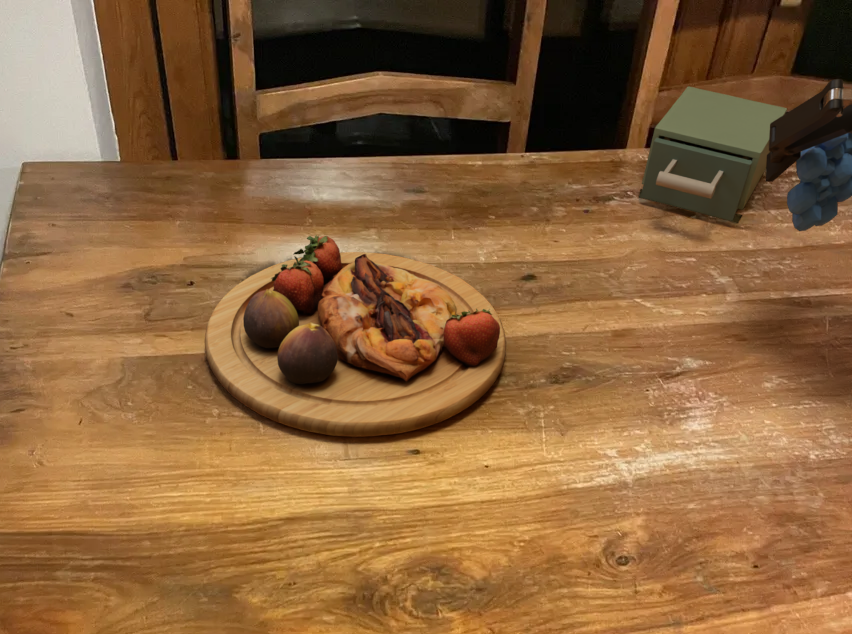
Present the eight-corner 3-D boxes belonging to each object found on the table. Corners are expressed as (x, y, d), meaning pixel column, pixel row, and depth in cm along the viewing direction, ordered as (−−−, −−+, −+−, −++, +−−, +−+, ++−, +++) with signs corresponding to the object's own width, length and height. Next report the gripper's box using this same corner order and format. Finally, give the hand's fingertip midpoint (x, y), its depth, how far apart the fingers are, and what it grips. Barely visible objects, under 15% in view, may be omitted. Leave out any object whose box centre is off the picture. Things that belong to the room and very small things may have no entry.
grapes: (816, 199, 104) (848, 79, 95) (870, 217, 100) (909, 94, 91) (748, 228, 99) (775, 105, 90) (802, 248, 95) (836, 122, 86)
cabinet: (738, 223, 122) (761, 153, 115) (638, 197, 126) (654, 127, 119) (764, 176, 131) (787, 108, 124) (670, 153, 135) (688, 85, 128)
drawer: (720, 242, 117) (738, 185, 111) (625, 217, 120) (638, 160, 114) (758, 176, 129) (776, 121, 123) (671, 155, 132) (684, 101, 127)
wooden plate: (556, 329, 104) (569, 261, 98) (399, 487, 87) (403, 416, 80) (325, 241, 115) (323, 174, 109) (143, 365, 97) (128, 294, 91)
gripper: (810, 107, 76) (711, 203, 98) (1075, 117, 77) (917, 210, 99) (815, 10, 75) (715, 129, 98) (1083, 22, 76) (922, 137, 98)
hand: (817, 170), depth 98 cm, fingers closed on grapes, 9 cm apart
